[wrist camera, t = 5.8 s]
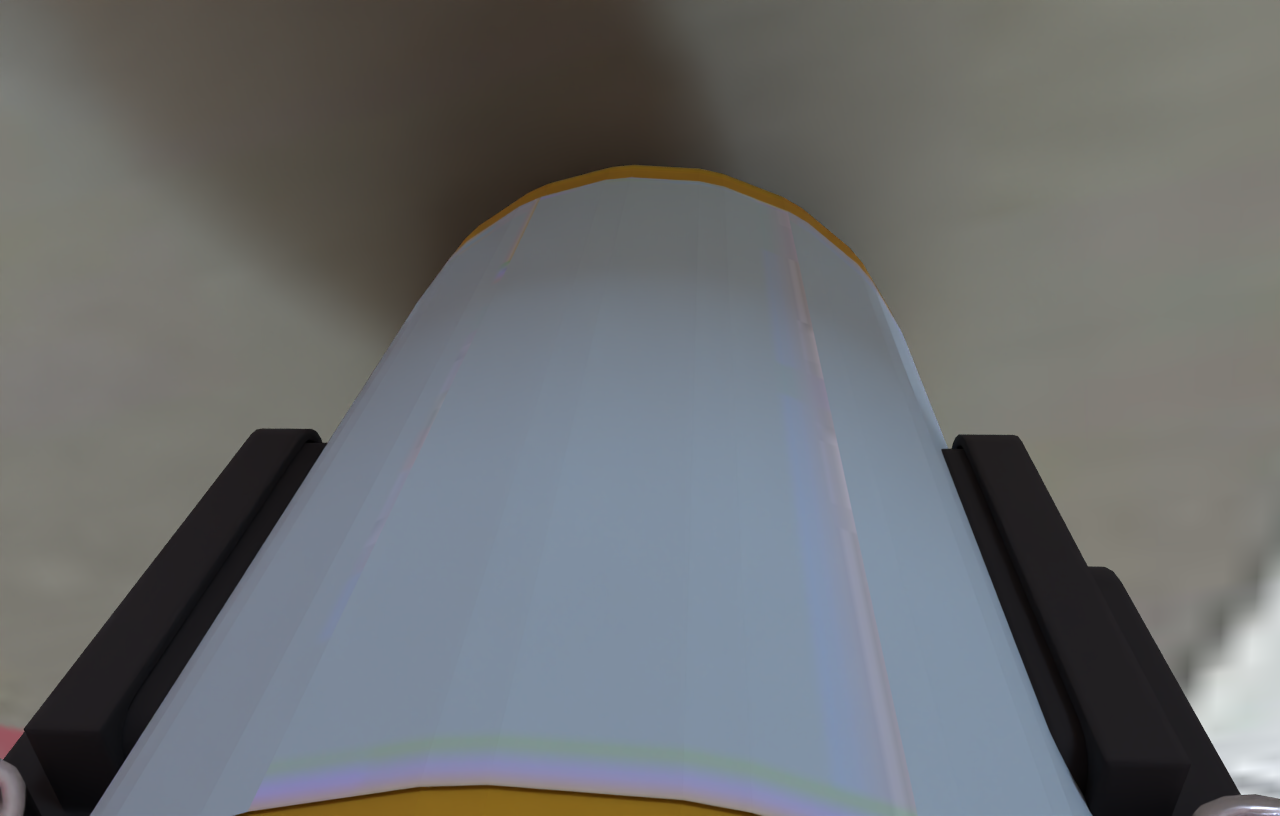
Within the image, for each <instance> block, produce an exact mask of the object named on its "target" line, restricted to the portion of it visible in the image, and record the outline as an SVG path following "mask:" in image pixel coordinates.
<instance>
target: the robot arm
mask: <svg viewBox="0 0 1280 816" xmlns="http://www.w3.org/2000/svg"><path fill="white" fill-rule="evenodd" d="M326 445H327V443H322V440H321V438H320V436H319V435H318V433H317V432H316V431H314V430H313V429H257V430H256V431H255V432H253V433H252V434H251V435H250V437H249V438H248V439H247V440H246V442H245V443H244V444H243V446H242V447H241V448H240V450H239V451H238V452H237V453H236V455H235V456H234V457H233V459H232V460H231V461H230V462H229V464H228V465H227V466H226V468H225V469H224V470H223V472H222V473H221V474H220V475H219V477H218V478H217V479H216V481H215V482H214V483H213V485H212V486H211V487H210V488H209V490H208V491H207V492H206V494H205V495H204V496H203V497H202V499H201V500H200V501H199V503H198V504H197V505H196V507H195V508H194V509H193V510H192V512H191V513H190V514H189V516H188V517H187V518H186V519H185V521H184V522H183V523H182V525H181V526H180V527H179V529H178V530H177V531H176V532H175V534H174V535H173V536H172V538H171V539H170V540H169V542H168V543H167V544H166V545H165V547H164V548H163V549H162V551H161V552H160V553H159V554H158V556H157V557H156V558H155V560H154V561H153V562H152V564H151V565H150V566H149V567H148V569H147V570H146V571H145V573H144V574H143V575H142V577H141V578H140V579H139V580H138V582H137V583H136V584H135V586H134V587H133V588H132V589H131V591H130V592H129V593H128V595H127V596H126V597H125V599H124V600H123V601H122V602H121V604H120V605H119V606H118V608H117V609H116V610H115V611H114V613H113V614H112V615H111V617H110V618H109V619H108V621H107V622H106V623H105V624H104V626H103V627H102V628H101V630H100V631H99V632H98V634H97V635H96V636H95V637H94V639H93V640H92V641H91V643H90V644H89V645H88V646H87V648H86V649H85V650H84V652H83V653H82V654H81V656H80V657H79V658H78V659H77V661H76V662H75V663H74V665H73V666H72V667H71V668H70V670H69V671H68V672H67V674H66V675H65V676H64V678H63V679H62V680H61V681H60V683H59V684H58V685H57V687H56V688H55V689H54V691H53V692H52V693H51V694H50V696H49V697H48V698H47V700H46V701H45V702H44V703H43V705H42V706H41V707H40V709H39V710H38V711H37V713H36V714H35V715H34V716H33V718H32V719H31V720H30V722H29V723H28V724H27V726H26V727H25V728H24V731H25V732H24V733H23V735H22V736H21V737H20V738H19V740H18V741H17V742H16V744H15V745H14V746H13V748H12V749H11V750H10V751H9V753H8V754H7V755H6V757H5V758H4V759H3V760H2V759H0V816H90V815H91V813H92V812H93V810H94V808H95V807H96V805H97V804H98V802H99V801H100V799H101V797H102V796H103V794H104V793H105V791H106V790H107V788H108V787H109V785H110V783H111V782H112V780H113V779H114V777H115V776H116V774H117V772H118V771H119V769H120V768H121V766H122V765H123V763H124V761H125V760H126V758H127V757H128V755H129V754H130V752H131V750H132V749H133V747H134V746H135V744H136V743H137V741H138V739H139V738H140V736H141V735H142V733H143V732H144V730H145V729H146V727H147V725H148V724H149V722H150V721H151V719H152V718H153V716H154V714H155V713H156V711H157V710H158V708H159V707H160V705H161V704H162V702H163V701H164V699H165V697H166V696H167V694H168V693H169V691H170V690H171V688H172V686H173V685H174V683H175V682H176V680H177V679H178V677H179V676H180V674H181V672H182V671H183V669H184V668H185V666H186V665H187V663H188V661H189V660H190V658H191V657H192V655H193V654H194V652H195V650H196V649H197V647H198V646H199V644H200V643H201V641H202V639H203V638H204V636H205V635H206V633H207V632H208V630H209V628H210V627H211V625H212V624H213V622H214V621H215V619H216V617H217V616H218V614H219V613H220V611H221V610H222V608H223V606H224V605H225V603H226V602H227V600H228V599H229V597H230V595H231V594H232V592H233V591H234V589H235V588H236V586H237V585H238V583H239V581H240V580H241V578H242V577H243V575H244V574H245V572H246V570H247V569H248V567H249V566H250V564H251V563H252V561H253V559H254V558H255V556H256V555H257V553H258V552H259V550H260V548H261V547H262V545H263V544H264V542H265V541H266V539H267V537H268V536H269V534H270V533H271V531H272V530H273V528H274V526H275V525H276V523H277V522H278V520H279V519H280V517H281V515H282V514H283V512H284V511H285V509H286V508H287V506H288V505H289V503H290V501H291V500H292V498H293V497H294V495H295V494H296V492H297V490H298V489H299V487H300V486H301V484H302V483H303V481H304V479H305V478H306V476H307V475H308V473H309V472H310V470H311V468H312V467H313V465H314V464H315V462H316V461H317V459H318V457H319V456H320V454H321V453H322V451H323V450H324V448H325V446H326ZM941 451H942V454H943V456H944V459H945V462H946V464H947V467H948V469H949V472H950V475H951V477H952V480H953V482H954V485H955V488H956V490H957V493H958V495H959V498H960V501H961V503H962V506H963V508H964V511H965V514H966V516H967V519H968V521H969V524H970V526H971V529H972V532H973V534H974V537H975V539H976V542H977V545H978V547H979V550H980V552H981V555H982V558H983V560H984V563H985V565H986V568H987V571H988V573H989V576H990V578H991V581H992V584H993V586H994V589H995V591H996V594H997V597H998V599H999V602H1000V604H1001V607H1002V610H1003V612H1004V615H1005V617H1006V620H1007V623H1008V625H1009V628H1010V630H1011V633H1012V636H1013V638H1014V641H1015V643H1016V646H1017V648H1018V651H1019V654H1020V656H1021V659H1022V661H1023V664H1024V667H1025V669H1026V672H1027V674H1028V677H1029V680H1030V682H1031V685H1032V687H1033V690H1034V693H1035V695H1036V698H1037V700H1038V703H1039V706H1040V708H1041V711H1042V713H1043V716H1044V719H1045V721H1046V724H1047V726H1048V729H1049V731H1050V733H1051V736H1052V738H1053V740H1054V742H1055V744H1056V746H1057V748H1058V750H1059V752H1060V754H1061V756H1062V758H1063V760H1064V762H1065V764H1066V766H1067V768H1068V770H1069V771H1070V773H1071V775H1072V777H1073V779H1074V780H1075V782H1076V784H1077V785H1078V787H1079V789H1080V790H1081V792H1082V793H1083V795H1084V798H1085V801H1086V803H1087V806H1088V808H1089V811H1090V812H1091V814H1092V815H1093V816H1280V799H1277V798H1272V797H1267V796H1261V795H1256V794H1253V795H1241V794H1240V792H1239V791H1238V789H1237V787H1236V785H1235V784H1234V782H1233V780H1232V778H1231V776H1230V775H1229V773H1228V771H1227V769H1226V768H1225V766H1224V764H1223V762H1222V760H1221V759H1220V757H1219V755H1218V753H1217V752H1216V750H1215V748H1214V746H1213V744H1212V743H1211V741H1210V739H1209V737H1208V735H1207V734H1206V732H1205V730H1204V728H1203V727H1202V725H1201V723H1200V721H1199V719H1198V718H1197V716H1196V714H1195V712H1194V711H1193V709H1192V707H1191V705H1190V703H1189V702H1188V700H1187V698H1186V696H1185V695H1184V693H1183V691H1182V689H1181V687H1180V686H1179V684H1178V682H1177V680H1176V679H1175V677H1174V675H1173V673H1172V671H1171V670H1170V668H1169V666H1168V664H1167V663H1166V661H1165V659H1164V657H1163V655H1162V654H1161V652H1160V650H1159V648H1158V646H1157V645H1156V643H1155V641H1154V639H1153V638H1152V636H1151V634H1150V632H1149V630H1148V629H1147V627H1146V625H1145V623H1144V622H1143V620H1142V618H1141V616H1140V614H1139V613H1138V611H1137V609H1136V607H1135V606H1134V604H1133V602H1132V600H1131V598H1130V597H1129V595H1128V593H1127V591H1126V590H1125V588H1124V586H1123V584H1122V582H1121V581H1120V580H1119V579H1118V577H1117V576H1116V575H1115V573H1114V572H1113V571H1111V570H1109V569H1108V568H1106V567H1088V566H1087V564H1086V562H1085V560H1084V558H1083V557H1082V555H1081V553H1080V551H1079V549H1078V547H1077V545H1076V543H1075V541H1074V540H1073V538H1072V536H1071V534H1070V532H1069V530H1068V528H1067V526H1066V524H1065V522H1064V521H1063V519H1062V517H1061V515H1060V513H1059V511H1058V509H1057V507H1056V505H1055V503H1054V502H1053V500H1052V498H1051V496H1050V494H1049V492H1048V490H1047V488H1046V486H1045V485H1044V483H1043V481H1042V479H1041V477H1040V475H1039V473H1038V471H1037V469H1036V467H1035V466H1034V464H1033V462H1032V460H1031V458H1030V456H1029V454H1028V452H1027V450H1026V449H1025V447H1024V445H1023V443H1022V441H1021V440H1020V439H1019V437H1018V436H1015V435H958V436H957V437H956V438H955V440H954V443H953V446H952V449H941Z"/></svg>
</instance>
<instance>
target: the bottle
mask: <svg viewBox="0 0 1280 816" xmlns="http://www.w3.org/2000/svg"><path fill="white" fill-rule="evenodd" d="M941 449H948V447H947V445H946V442H945V440H944V437H943V434H942V432H941V429H940V427H939V424H938V422H937V419H936V417H935V414H934V412H933V409H932V407H931V404H930V402H929V399H928V397H927V394H926V392H925V389H924V387H923V384H922V382H921V379H920V377H919V374H918V372H917V369H916V366H915V364H914V361H913V359H912V356H911V354H910V351H909V349H908V346H907V344H906V341H905V339H904V336H903V334H902V331H901V330H900V328H899V326H898V325H897V323H896V321H895V319H894V318H893V315H892V313H891V311H890V309H889V307H888V306H887V304H886V302H885V301H884V299H883V297H882V296H881V294H880V292H879V290H878V289H877V287H876V285H875V284H874V282H873V280H872V278H871V277H870V275H869V273H868V272H867V270H866V268H865V266H864V265H863V263H862V262H861V261H860V260H859V259H858V257H857V256H856V255H855V254H854V253H853V252H852V250H851V249H850V248H849V247H848V246H847V245H846V244H844V243H843V242H842V241H841V240H840V239H838V238H837V237H836V236H835V235H833V234H832V233H831V232H830V231H829V230H827V229H826V228H825V227H824V226H823V225H821V224H820V223H819V222H818V221H817V220H815V219H814V218H813V217H812V216H811V215H809V214H808V213H807V212H806V211H805V210H803V209H802V208H801V207H799V206H797V205H795V204H794V203H792V202H790V201H789V200H787V199H785V198H784V197H782V196H779V195H776V194H774V193H771V192H769V191H766V190H763V189H761V188H758V187H756V186H753V185H750V184H748V183H745V182H743V181H740V180H738V179H735V178H732V177H730V176H727V175H725V174H722V173H717V172H712V171H708V170H703V169H697V168H679V167H661V166H643V165H629V166H619V167H610V168H606V169H602V170H599V171H595V172H591V173H587V174H583V175H580V176H576V177H572V178H568V179H564V180H561V181H557V182H553V183H549V184H547V185H545V186H543V187H540V188H538V189H536V190H534V191H531V192H529V193H527V194H526V195H524V196H523V197H521V198H520V199H518V200H517V201H515V202H514V203H512V204H511V205H509V206H508V207H506V208H505V209H503V210H502V211H500V212H499V213H497V214H496V215H494V216H493V217H491V218H490V219H488V220H487V221H485V222H484V223H482V224H481V225H479V226H478V227H477V228H476V229H475V230H474V231H473V232H472V233H471V234H470V235H469V236H468V237H467V238H466V239H464V241H463V242H462V243H461V245H460V246H459V247H458V249H457V250H456V251H455V253H454V254H453V255H452V256H451V257H450V259H449V260H448V261H447V263H446V264H445V265H444V267H443V268H442V270H441V271H440V272H439V274H438V275H437V276H436V278H435V279H434V280H433V282H432V283H431V284H430V286H429V287H428V289H427V290H426V291H425V293H424V294H423V295H422V297H421V298H420V299H419V301H418V302H417V304H416V305H415V307H414V308H413V310H412V312H411V313H410V315H409V316H408V318H407V319H406V321H405V323H404V324H403V326H402V327H401V329H400V330H399V332H398V333H397V335H396V337H395V338H394V340H393V341H392V343H391V344H390V346H389V348H388V349H387V351H386V352H385V354H384V355H383V357H382V359H381V360H380V362H379V363H378V365H377V366H376V368H375V370H374V371H373V373H372V374H371V376H370V377H369V379H368V381H367V382H366V384H365V385H364V387H363V388H362V390H361V391H360V393H359V395H358V396H357V398H356V399H355V401H354V402H353V404H352V406H351V407H350V409H349V410H348V412H347V413H346V415H345V417H344V418H343V420H342V421H341V423H340V424H339V426H338V428H337V429H336V431H335V432H334V434H333V435H332V437H331V439H330V440H329V442H328V443H327V445H326V446H325V448H324V450H323V451H322V453H321V454H320V456H319V457H318V459H317V461H316V462H315V464H314V465H313V467H312V468H311V470H310V472H309V473H308V475H307V476H306V478H305V479H304V481H303V483H302V484H301V486H300V487H299V489H298V490H297V492H296V494H295V495H294V497H293V498H292V500H291V501H290V503H289V505H288V506H287V508H286V509H285V511H284V512H283V514H282V515H281V517H280V519H279V520H278V522H277V523H276V525H275V526H274V528H273V530H272V531H271V533H270V534H269V536H268V537H267V539H266V541H265V542H264V544H263V545H262V547H261V548H260V550H259V552H258V553H257V555H256V556H255V558H254V559H253V561H252V563H251V564H250V566H249V567H248V569H247V570H246V572H245V574H244V575H243V577H242V578H241V580H240V581H239V583H238V585H237V586H236V588H235V589H234V591H233V592H232V594H231V595H230V597H229V599H228V600H227V602H226V603H225V605H224V606H223V608H222V610H221V611H220V613H219V614H218V616H217V617H216V619H215V621H214V622H213V624H212V625H211V627H210V628H209V630H208V632H207V633H206V635H205V636H204V638H203V639H202V641H201V643H200V644H199V646H198V647H197V649H196V650H195V652H194V654H193V655H192V657H191V658H190V660H189V661H188V663H187V665H186V666H185V668H184V669H183V671H182V672H181V674H180V676H179V677H178V679H177V680H176V682H175V683H174V685H173V686H172V688H171V690H170V691H169V693H168V694H167V696H166V697H165V699H164V701H163V702H162V704H161V705H160V707H159V708H158V710H157V711H156V713H155V714H154V716H153V718H152V719H151V721H150V722H149V724H148V725H147V727H146V729H145V730H144V732H143V733H142V735H141V736H140V738H139V739H138V741H137V743H136V744H135V746H134V747H133V749H132V750H131V752H130V754H129V755H128V757H127V758H126V760H125V761H124V763H123V765H122V766H121V768H120V769H119V771H118V772H117V774H116V776H115V777H114V779H113V780H112V782H111V783H110V785H109V787H108V788H107V790H106V791H105V793H104V794H103V796H102V797H101V799H100V801H99V802H98V804H97V805H96V807H95V808H94V810H93V812H92V813H91V815H90V816H1093V815H1092V814H1091V812H1090V811H1089V808H1088V806H1087V803H1086V801H1085V798H1084V795H1083V793H1082V792H1081V790H1080V789H1079V787H1078V785H1077V784H1076V782H1075V780H1074V779H1073V777H1072V775H1071V773H1070V771H1069V770H1068V768H1067V766H1066V764H1065V762H1064V760H1063V758H1062V756H1061V754H1060V752H1059V750H1058V748H1057V746H1056V744H1055V742H1054V740H1053V738H1052V736H1051V733H1050V731H1049V729H1048V726H1047V724H1046V721H1045V719H1044V716H1043V713H1042V711H1041V708H1040V706H1039V703H1038V700H1037V698H1036V695H1035V693H1034V690H1033V687H1032V685H1031V682H1030V680H1029V677H1028V674H1027V672H1026V669H1025V667H1024V664H1023V661H1022V659H1021V656H1020V654H1019V651H1018V648H1017V646H1016V643H1015V641H1014V638H1013V636H1012V633H1011V630H1010V628H1009V625H1008V623H1007V620H1006V617H1005V615H1004V612H1003V610H1002V607H1001V604H1000V602H999V599H998V597H997V594H996V591H995V589H994V586H993V584H992V581H991V578H990V576H989V573H988V571H987V568H986V565H985V563H984V560H983V558H982V555H981V552H980V550H979V547H978V545H977V542H976V539H975V537H974V534H973V532H972V529H971V526H970V524H969V521H968V519H967V516H966V514H965V511H964V508H963V506H962V503H961V501H960V498H959V495H958V493H957V490H956V488H955V485H954V482H953V480H952V477H951V475H950V472H949V469H948V467H947V464H946V462H945V459H944V456H943V454H942V451H941Z"/></svg>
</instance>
